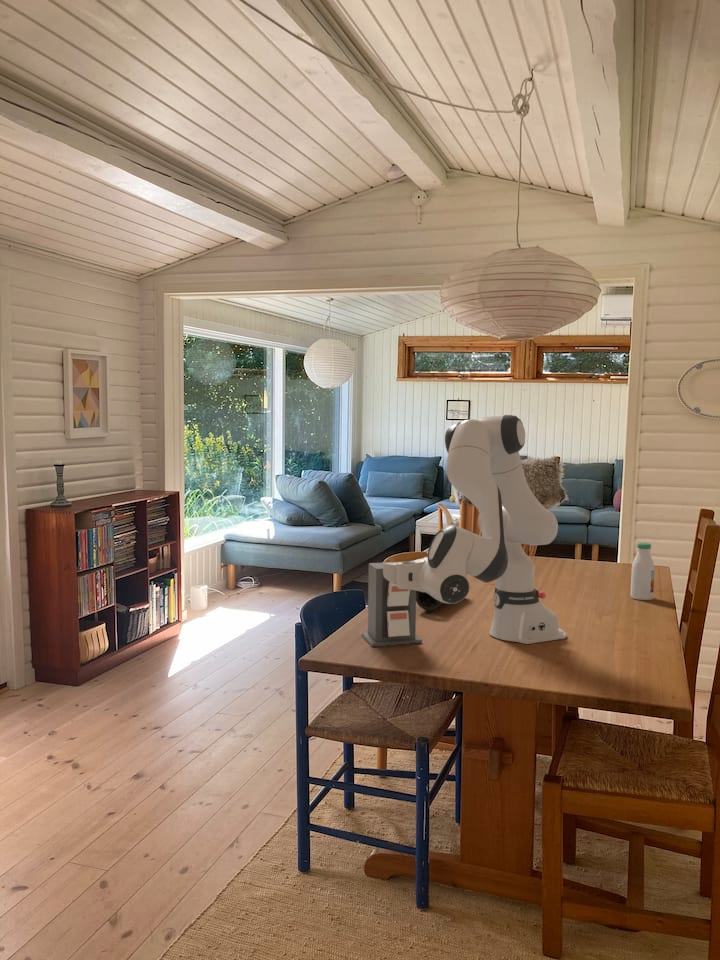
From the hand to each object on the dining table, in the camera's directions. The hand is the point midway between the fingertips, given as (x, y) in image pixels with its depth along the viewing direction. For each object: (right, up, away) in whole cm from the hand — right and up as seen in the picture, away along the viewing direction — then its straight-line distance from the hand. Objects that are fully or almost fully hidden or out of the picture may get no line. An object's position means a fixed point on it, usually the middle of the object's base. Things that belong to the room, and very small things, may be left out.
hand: (413, 564), depth 206 cm
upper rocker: (-4, -13, +14) cm, 19 cm away
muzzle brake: (+14, -21, +62) cm, 67 cm away
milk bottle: (+87, -20, +74) cm, 116 cm away
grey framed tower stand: (-5, -24, +20) cm, 32 cm away
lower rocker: (-3, -22, +13) cm, 25 cm away
